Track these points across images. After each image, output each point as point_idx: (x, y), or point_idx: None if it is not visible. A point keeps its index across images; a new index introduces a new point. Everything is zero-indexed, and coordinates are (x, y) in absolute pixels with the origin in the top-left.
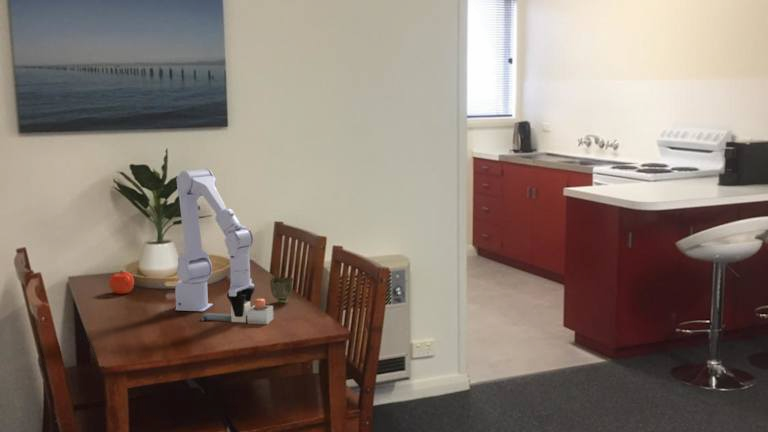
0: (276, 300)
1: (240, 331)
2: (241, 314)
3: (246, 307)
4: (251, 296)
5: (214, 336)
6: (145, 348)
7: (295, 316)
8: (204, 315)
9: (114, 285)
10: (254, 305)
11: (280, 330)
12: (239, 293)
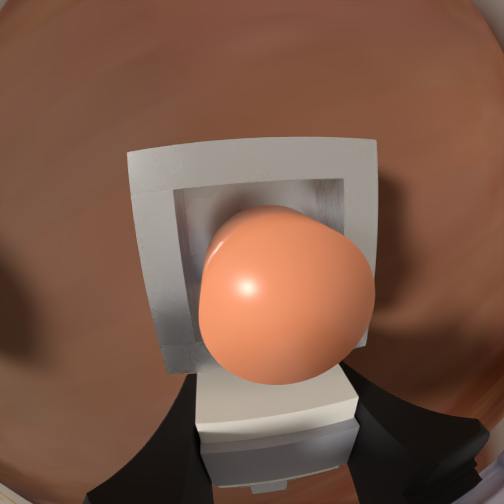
0: None
1: (451, 260)
2: (343, 364)
3: (310, 385)
4: (141, 456)
5: (483, 325)
6: (501, 397)
7: (79, 42)
8: (286, 483)
9: None
10: (181, 363)
11: (407, 43)
12: (441, 494)
